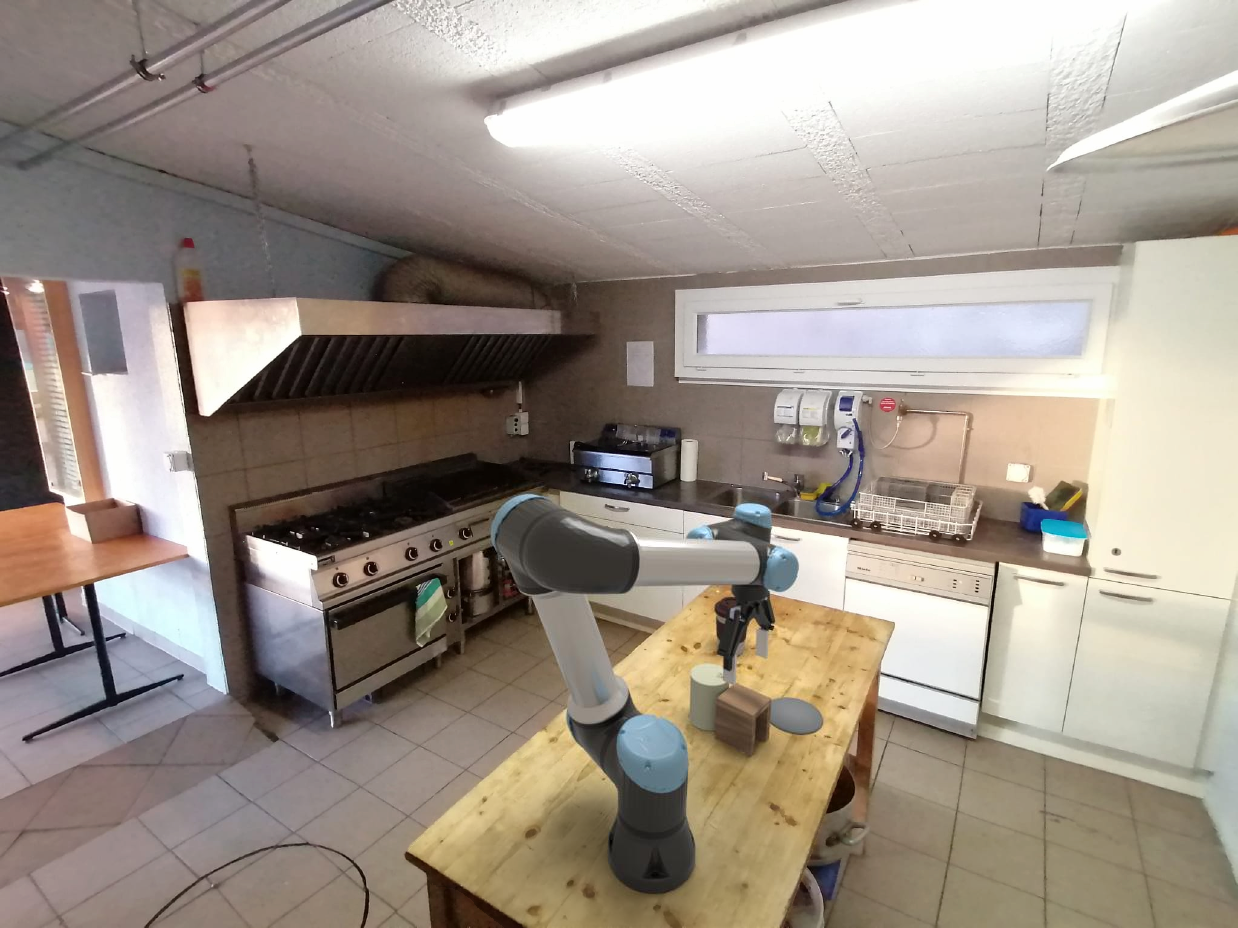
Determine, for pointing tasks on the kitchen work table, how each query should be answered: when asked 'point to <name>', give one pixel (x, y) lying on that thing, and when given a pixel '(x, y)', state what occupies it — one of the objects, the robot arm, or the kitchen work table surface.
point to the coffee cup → (721, 618)
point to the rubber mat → (795, 716)
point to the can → (705, 694)
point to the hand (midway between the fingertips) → (746, 668)
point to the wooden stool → (742, 718)
